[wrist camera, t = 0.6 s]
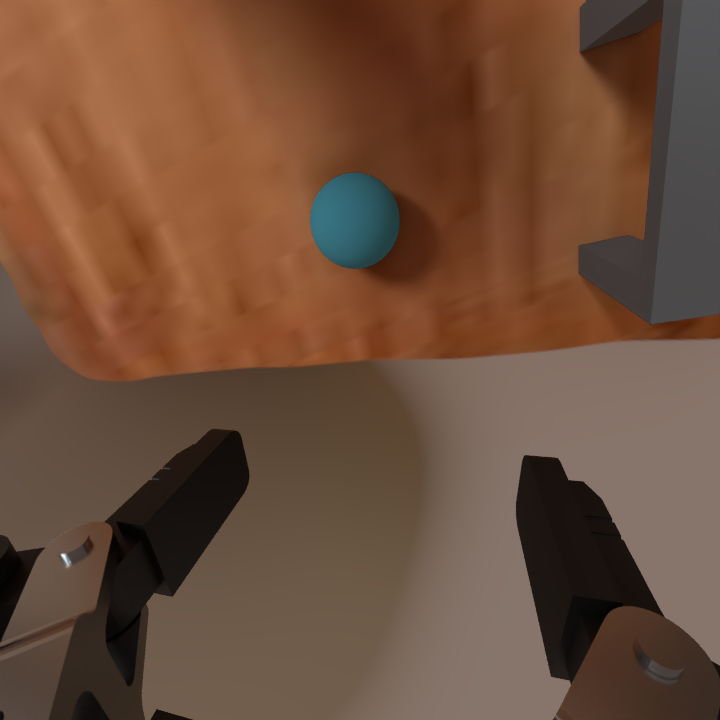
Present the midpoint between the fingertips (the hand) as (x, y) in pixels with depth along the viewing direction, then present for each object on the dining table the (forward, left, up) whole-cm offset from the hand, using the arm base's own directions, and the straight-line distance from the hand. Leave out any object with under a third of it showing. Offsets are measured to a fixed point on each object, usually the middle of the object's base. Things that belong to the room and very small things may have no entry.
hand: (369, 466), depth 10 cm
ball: (-5, -2, -18) cm, 18 cm away
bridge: (-5, +14, -21) cm, 25 cm away
